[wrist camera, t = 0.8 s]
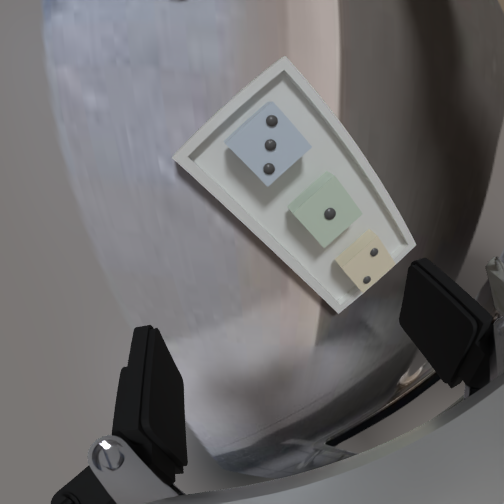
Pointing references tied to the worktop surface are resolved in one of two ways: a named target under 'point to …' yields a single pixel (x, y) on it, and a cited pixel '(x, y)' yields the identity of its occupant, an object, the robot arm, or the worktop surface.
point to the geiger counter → (496, 282)
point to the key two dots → (365, 260)
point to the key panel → (295, 181)
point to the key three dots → (268, 143)
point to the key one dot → (325, 209)
